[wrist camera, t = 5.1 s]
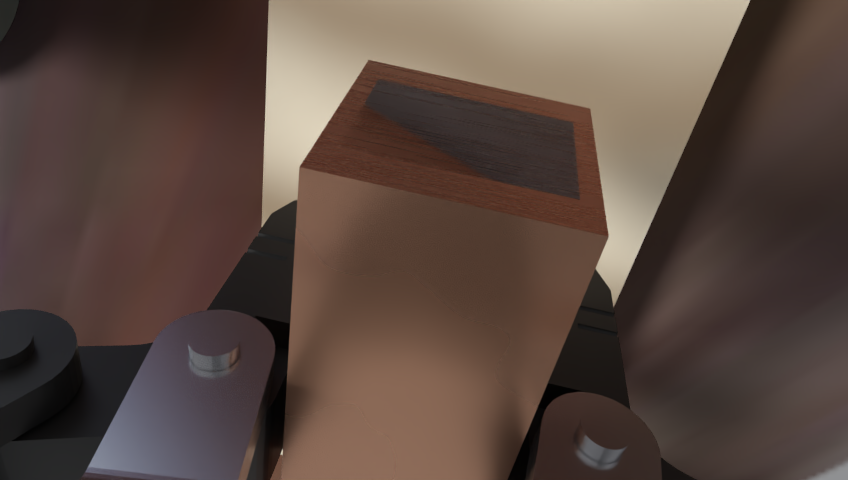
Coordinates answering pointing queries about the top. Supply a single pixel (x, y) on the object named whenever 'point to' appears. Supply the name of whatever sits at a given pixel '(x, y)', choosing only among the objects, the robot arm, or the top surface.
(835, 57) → the top surface
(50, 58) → the top surface
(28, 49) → the top surface
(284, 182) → the base
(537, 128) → the lever
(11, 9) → the figurine
